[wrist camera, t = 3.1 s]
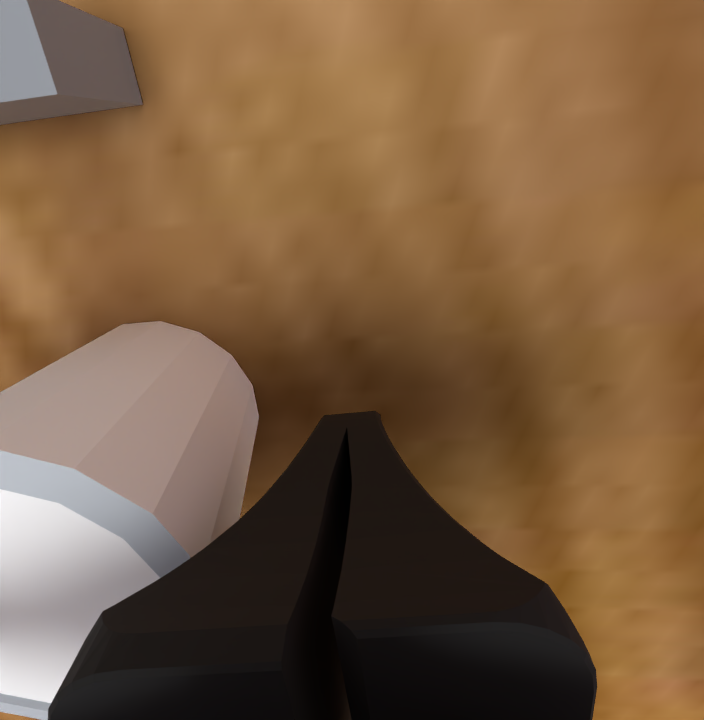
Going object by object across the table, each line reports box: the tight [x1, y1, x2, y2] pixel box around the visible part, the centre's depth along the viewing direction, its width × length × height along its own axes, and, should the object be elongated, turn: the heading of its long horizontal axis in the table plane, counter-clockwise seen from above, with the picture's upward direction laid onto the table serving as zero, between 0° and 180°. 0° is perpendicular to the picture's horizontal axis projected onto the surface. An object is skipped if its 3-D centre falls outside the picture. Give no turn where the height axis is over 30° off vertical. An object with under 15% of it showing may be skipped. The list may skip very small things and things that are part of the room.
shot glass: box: [0, 321, 259, 720], centre depth 12 cm, size 7×7×7 cm
